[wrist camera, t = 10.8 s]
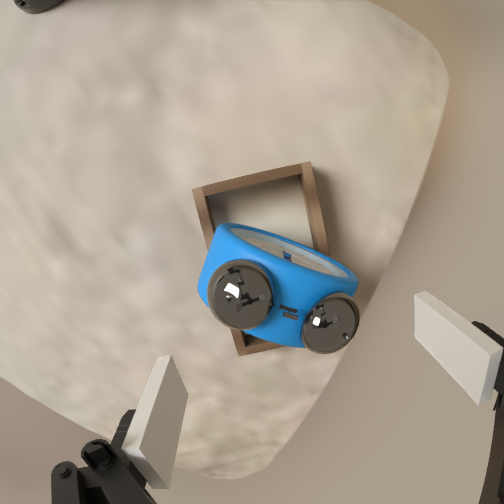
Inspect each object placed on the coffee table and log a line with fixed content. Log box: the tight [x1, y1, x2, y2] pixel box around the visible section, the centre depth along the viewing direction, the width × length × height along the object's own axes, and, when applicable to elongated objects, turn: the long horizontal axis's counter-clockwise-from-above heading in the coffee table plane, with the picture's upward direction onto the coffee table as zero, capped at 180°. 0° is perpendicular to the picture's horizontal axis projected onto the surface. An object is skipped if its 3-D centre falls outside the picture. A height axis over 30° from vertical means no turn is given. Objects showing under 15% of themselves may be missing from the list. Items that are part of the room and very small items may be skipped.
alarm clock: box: [198, 223, 360, 354], centre depth 27 cm, size 13×6×15 cm, turn 70°
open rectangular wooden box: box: [192, 162, 330, 356], centre depth 34 cm, size 19×12×4 cm, turn 13°
